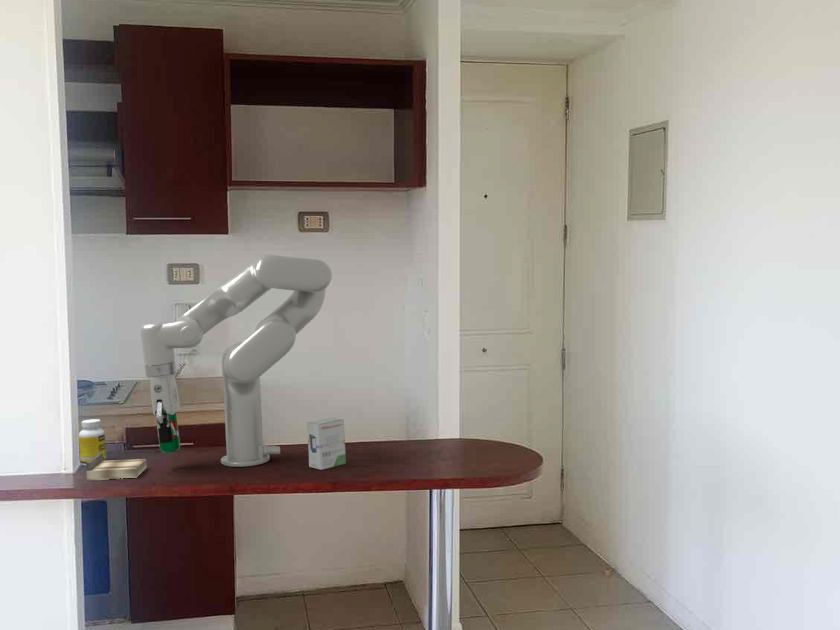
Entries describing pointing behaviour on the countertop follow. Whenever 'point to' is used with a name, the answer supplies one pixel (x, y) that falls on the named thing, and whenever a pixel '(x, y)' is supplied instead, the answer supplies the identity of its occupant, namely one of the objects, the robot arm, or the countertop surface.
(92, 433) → the pill bottle
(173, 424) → the soda can
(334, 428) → the ink box
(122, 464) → the dock
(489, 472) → the countertop surface
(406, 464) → the countertop surface
